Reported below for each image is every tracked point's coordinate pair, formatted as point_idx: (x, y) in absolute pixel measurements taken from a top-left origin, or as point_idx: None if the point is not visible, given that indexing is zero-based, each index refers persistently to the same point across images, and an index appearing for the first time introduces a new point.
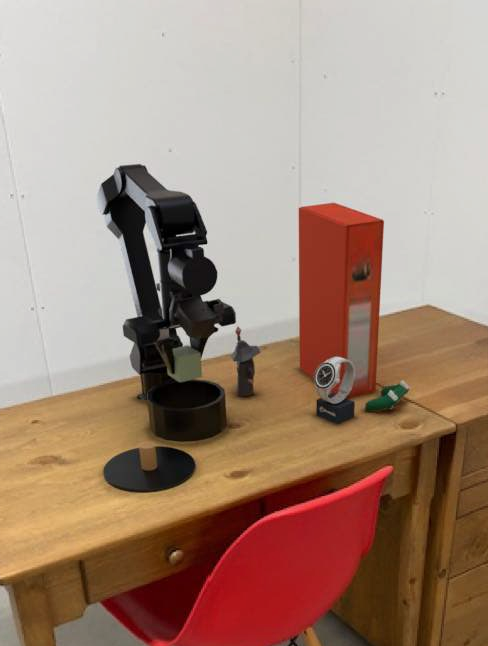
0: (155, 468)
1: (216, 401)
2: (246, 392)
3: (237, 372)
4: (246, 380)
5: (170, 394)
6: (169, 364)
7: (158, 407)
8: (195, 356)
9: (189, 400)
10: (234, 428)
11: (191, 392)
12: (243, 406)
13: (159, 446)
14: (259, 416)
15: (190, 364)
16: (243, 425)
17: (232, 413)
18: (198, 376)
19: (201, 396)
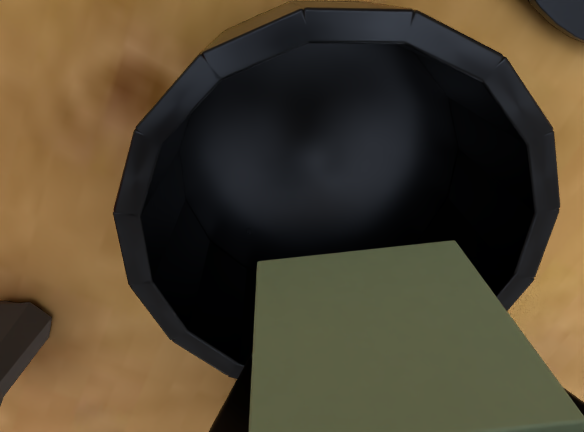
0: None
1: (222, 60)
2: (12, 309)
3: (2, 399)
4: None
5: None
6: (572, 395)
7: (556, 165)
8: (322, 415)
9: None
10: (146, 68)
11: (251, 323)
12: (52, 237)
13: (551, 12)
14: (2, 125)
15: (381, 342)
16: (97, 76)
17: (112, 203)
18: (289, 264)
19: (216, 291)
